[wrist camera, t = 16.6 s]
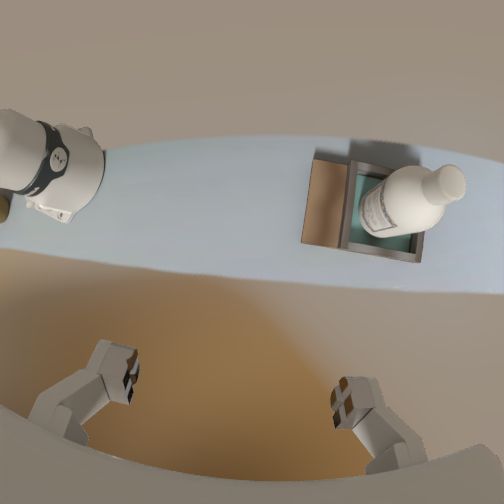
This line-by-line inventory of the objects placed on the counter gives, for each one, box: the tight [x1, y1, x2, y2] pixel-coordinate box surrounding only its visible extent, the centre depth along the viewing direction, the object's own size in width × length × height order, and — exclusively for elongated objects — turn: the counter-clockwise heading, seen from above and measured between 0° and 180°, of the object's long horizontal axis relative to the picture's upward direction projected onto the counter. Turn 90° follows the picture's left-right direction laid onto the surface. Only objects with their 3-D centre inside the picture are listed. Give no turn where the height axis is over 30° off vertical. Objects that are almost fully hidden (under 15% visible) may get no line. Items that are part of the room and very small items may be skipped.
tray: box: [301, 159, 425, 263], centre depth 38 cm, size 18×12×4 cm, turn 81°
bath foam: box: [358, 165, 466, 238], centre depth 28 cm, size 7×7×20 cm
